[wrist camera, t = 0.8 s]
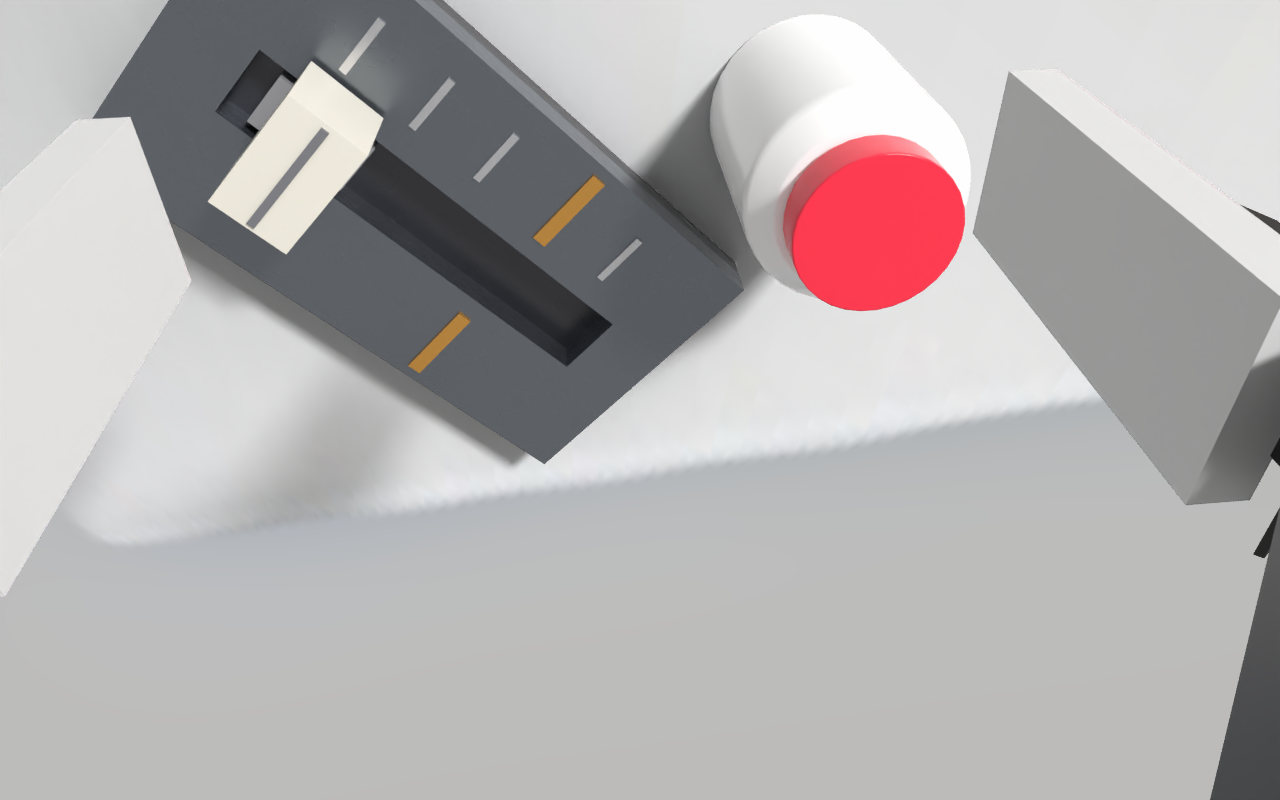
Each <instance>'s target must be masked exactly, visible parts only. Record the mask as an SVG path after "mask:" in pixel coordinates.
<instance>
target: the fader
mask: <svg viewBox="0 0 1280 800" xmlns="http://www.w3.org/2000/svg"><path fill="white" fill-rule="evenodd" d="M382 121H383V117H381V116H380V115H379V114H378V113H376V112H375V111H374V110H373V109H371V108H370V107H369V106H368V105H366V104H365V103H364V102H362V101H361V100H360V99H359V98H357V97H356V96H355V95H354V94H352V93H351V92H350V91H349V90H347V89H346V88H345V87H344V86H342V85H341V84H340V83H339V82H337V81H336V80H335V79H334V78H332V77H331V76H330V75H329V74H327V73H326V72H325V71H323V70H322V69H321V68H320V67H318V66H317V65H316V64H315V63H313V62H312V61H311V62H310V63H309V65H308V66H307V67H306V69H305V70H304V71H303V73H302V74H301V75H300V77H299V78H298V79H297V78H295V77H294V76H293V75H291V74H290V73H289V72H288V71H286V70H284V71H283V73H282V74H281V75H280V77H279V78H278V79H277V81H276V82H275V84H274V85H273V86H272V88H271V89H270V90H269V92H268V93H267V94H266V96H265V97H264V98H263V100H262V101H261V102H260V104H259V105H258V107H257V108H256V109H255V111H254V112H253V113H252V115H251V116H250V117H249V119H248V120H247V122H249V123H250V124H251V125H253V126H254V127H255V128H257V129H258V130H259V131H258V133H257V134H256V135H255V137H254V138H253V139H252V141H251V142H250V143H249V145H248V146H247V147H246V149H245V150H244V151H243V153H242V154H241V155H240V157H239V158H238V159H237V161H236V162H235V163H234V165H233V166H232V168H231V169H230V171H229V172H228V173H227V175H226V176H225V178H224V179H223V181H222V182H221V183H220V185H219V186H218V188H217V189H216V191H215V192H214V193H213V195H212V196H211V198H210V199H209V201H208V202H209V203H210V204H212V205H213V206H215V207H216V208H218V209H219V210H221V211H222V212H224V213H225V214H227V215H228V216H230V217H231V218H233V219H234V220H236V221H237V222H238V223H240V224H241V225H243V226H244V227H246V228H247V229H249V230H250V231H252V232H253V233H255V234H256V235H258V236H259V237H261V238H262V239H264V240H265V241H267V242H268V243H270V244H271V245H273V246H274V247H276V248H277V249H279V250H280V251H282V252H283V253H285V254H287V253H288V252H289V251H290V249H291V248H292V247H293V246H294V244H295V243H296V242H297V241H298V240H299V238H300V237H301V236H302V235H303V234H304V232H305V231H306V230H307V229H308V228H309V226H310V225H311V224H312V223H313V221H314V220H315V219H316V218H317V217H318V215H319V214H320V213H321V212H322V211H323V209H324V208H325V207H326V206H327V205H328V203H329V202H330V201H331V200H332V199H333V197H334V196H335V195H336V194H337V192H338V191H339V190H342V189H343V187H344V186H345V185H346V184H347V183H348V181H349V180H350V179H351V178H352V177H353V175H354V174H355V173H356V172H357V170H358V169H359V168H360V167H361V166H362V164H363V163H364V162H365V161H366V160H367V158H368V157H369V156H370V155H371V154H372V152H373V151H374V150H375V147H376V145H377V142H378V141H376V140H375V138H376V135H377V133H378V130H379V128H380V126H381V123H382Z"/></svg>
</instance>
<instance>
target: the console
mask: <svg viewBox="0 0 1280 800" xmlns="http://www.w3.org/2000/svg"><path fill="white" fill-rule="evenodd" d="M311 61H312V62H313V63H315V64H316V65H317V66H318V67H320V68H321V69H322V70H323V71H325V72H326V73H327V74H329V75H330V76H331V77H332V78H334V79H335V80H336V81H337V82H339V83H340V84H341V85H342V86H344V87H345V88H346V89H347V90H349V91H350V92H351V93H352V94H354V95H355V96H356V97H357V98H359V99H360V100H361V101H362V102H364V103H365V104H366V105H368V106H369V107H370V108H371V109H373V110H374V111H375V112H376V113H378V114H379V115H380V116H381V117H383V121H382V123H381V126H380V128H379V130H378V133H377V135H376V138H375V140H376V141H378V142H377V145H376V147H375V150H374V151H373V152H372V154H371V155H370V156H369V157H368V158H367V160H366V161H365V162H364V163H363V164H362V166H361V167H360V168H359V169H358V170H357V172H356V173H355V174H354V175H353V177H352V178H351V179H350V180H349V181H348V183H347V184H346V185H345V186H344V187H343V189H342V190H339V191H338V192H337V194H336V195H335V196H334V197H333V199H332V200H331V201H330V202H329V203H328V205H327V206H326V207H325V208H324V209H323V211H322V212H321V213H320V214H319V215H318V217H317V218H316V219H315V220H314V221H313V223H312V224H311V225H310V226H309V228H308V229H307V230H306V231H305V232H304V234H303V235H302V236H301V237H300V238H299V240H298V241H297V242H296V243H295V244H294V246H293V247H292V248H291V249H290V251H289V252H288V253H287V254H285V253H283V252H282V251H280V250H279V249H277V248H276V247H274V246H273V245H271V244H270V243H268V242H267V241H265V240H264V239H262V238H261V237H259V236H258V235H256V234H255V233H253V232H252V231H250V230H249V229H247V228H246V227H244V226H243V225H241V224H240V223H238V222H237V221H236V220H234V219H233V218H231V217H230V216H228V215H227V214H225V213H224V212H222V211H221V210H219V209H218V208H216V207H215V206H213V205H212V204H210V203H209V202H208V201H209V199H210V198H211V196H212V195H213V193H214V192H215V191H216V189H217V188H218V186H219V185H220V183H221V182H222V181H223V179H224V178H225V176H226V175H227V173H228V172H229V171H230V169H231V168H232V166H233V165H234V163H235V162H236V161H237V159H238V158H239V157H240V155H241V154H242V153H243V151H244V150H245V149H246V147H247V146H248V145H249V143H250V142H251V141H252V139H253V138H254V137H255V135H256V134H257V133H258V131H259V130H258V129H257V128H255V127H254V126H253V125H251V124H250V123H249V122H247V120H248V119H249V117H250V116H251V115H252V113H253V112H254V111H255V109H256V108H257V107H258V105H259V104H260V102H261V101H262V100H263V98H264V97H265V96H266V94H267V93H268V92H269V90H270V89H271V88H272V86H273V85H274V84H275V82H276V81H277V79H278V78H279V77H280V75H281V74H282V73H283V71H284V70H286V71H288V72H289V73H290V74H291V75H293V76H294V77H295V78H297V79H298V78H299V77H300V75H301V74H302V73H303V71H304V70H305V69H306V67H307V66H308V65H309V63H310V62H311ZM121 117H130V118H131V120H132V123H133V126H134V128H135V131H136V134H137V136H138V139H139V142H140V144H141V147H142V150H143V152H144V155H145V158H146V160H147V163H148V166H149V168H150V171H151V174H152V176H153V179H154V182H155V184H156V187H157V190H158V192H159V195H160V198H161V201H162V203H163V206H164V209H165V211H166V214H167V217H168V219H169V220H170V221H171V222H173V223H174V224H176V225H177V226H179V227H180V228H182V229H183V230H185V231H187V232H188V233H190V234H191V235H193V236H194V237H196V238H197V239H199V240H200V241H202V242H203V243H205V244H207V245H208V246H210V247H211V248H213V249H214V250H216V251H217V252H219V253H220V254H222V255H223V256H225V257H227V258H228V259H230V260H231V261H233V262H234V263H236V264H237V265H239V266H240V267H242V268H243V269H245V270H247V271H248V272H250V273H251V274H253V275H254V276H256V277H257V278H259V279H260V280H262V281H263V282H265V283H267V284H268V285H270V286H271V287H273V288H274V289H276V290H277V291H279V292H280V293H282V294H283V295H285V296H287V297H288V298H290V299H291V300H293V301H294V302H296V303H297V304H299V305H300V306H302V307H303V308H305V309H307V310H308V311H310V312H311V313H313V314H314V315H316V316H317V317H319V318H320V319H322V320H323V321H325V322H327V323H328V324H330V325H331V326H333V327H334V328H336V329H337V330H339V331H340V332H342V333H343V334H345V335H347V336H348V337H350V338H351V339H353V340H354V341H356V342H357V343H359V344H360V345H362V346H363V347H365V348H367V349H368V350H370V351H371V352H373V353H374V354H376V355H377V356H379V357H380V358H382V359H384V360H385V361H387V362H388V363H390V364H391V365H393V366H394V367H396V368H397V369H399V370H400V371H402V372H404V373H405V374H407V375H408V376H410V377H411V378H413V379H414V380H416V381H417V382H419V383H420V384H422V385H424V386H425V387H427V388H428V389H430V390H431V391H433V392H434V393H436V394H437V395H439V396H440V397H442V398H444V399H445V400H447V401H448V402H450V403H451V404H453V405H454V406H456V407H457V408H459V409H460V410H462V411H464V412H465V413H467V414H468V415H470V416H471V417H473V418H474V419H476V420H477V421H479V422H480V423H482V424H484V425H485V426H487V427H488V428H490V429H491V430H493V431H494V432H496V433H497V434H499V435H500V436H502V437H504V438H505V439H507V440H508V441H510V442H511V443H513V444H514V445H516V446H517V447H519V448H520V449H522V450H524V451H525V452H527V453H528V454H530V455H531V456H533V457H534V458H536V459H537V460H539V461H540V462H542V463H544V464H545V463H546V462H547V461H548V460H550V459H551V458H552V457H553V456H554V455H555V454H557V453H558V452H559V451H560V450H561V449H562V448H563V447H565V446H566V445H567V444H568V443H569V442H570V441H571V440H573V439H574V438H575V437H576V436H577V435H578V434H579V433H581V432H582V431H583V430H584V429H585V428H586V427H587V426H589V425H590V424H591V423H592V422H593V421H594V420H596V419H597V418H598V417H599V416H600V415H601V414H602V413H604V412H605V411H606V410H607V409H608V408H609V407H610V406H612V405H613V404H614V403H615V402H616V401H617V400H618V399H620V398H621V397H622V396H623V395H624V394H625V393H626V392H628V391H629V390H630V389H631V388H632V387H633V386H635V385H636V384H637V383H638V382H639V381H640V380H641V379H643V378H644V377H645V376H646V375H647V374H648V373H649V372H651V371H652V370H653V369H654V368H655V367H656V366H657V365H659V364H660V363H661V362H662V361H663V360H664V359H665V358H667V357H668V356H669V355H670V354H671V353H672V352H674V351H675V350H676V349H677V348H678V347H679V346H680V345H682V344H683V343H684V342H685V341H686V340H687V339H688V338H690V337H691V336H692V335H693V334H694V333H695V332H696V331H698V330H699V329H700V328H701V327H702V326H703V325H705V324H706V323H707V322H708V321H709V320H710V319H711V318H713V317H714V316H715V315H716V314H717V313H718V312H719V311H721V310H722V309H723V308H724V307H725V306H726V305H727V304H729V303H730V302H731V301H732V300H733V299H734V298H735V297H737V296H738V295H739V294H740V293H741V292H742V291H744V290H743V287H742V284H741V281H740V277H739V274H738V271H737V268H736V265H735V262H734V261H733V260H732V259H730V258H729V257H728V256H727V255H726V254H725V253H724V252H723V251H721V250H720V249H719V248H718V247H717V246H716V245H715V244H714V243H713V242H711V241H710V240H709V239H708V238H707V237H706V236H705V235H704V234H703V233H701V232H700V231H699V230H698V229H697V228H696V227H695V226H694V225H693V224H691V223H690V222H689V221H688V220H687V219H686V218H685V217H684V216H682V215H681V214H680V213H679V212H678V211H677V210H676V209H675V208H674V207H672V206H671V205H670V204H669V203H668V202H667V201H666V200H665V199H664V198H662V197H661V196H660V195H659V194H658V193H657V192H656V191H655V190H654V189H652V188H651V187H650V186H649V185H648V184H647V183H646V182H645V181H644V180H642V179H641V178H640V177H639V176H638V175H637V174H636V173H635V172H633V171H632V170H631V169H630V168H629V167H628V166H627V165H626V164H625V163H623V162H622V161H621V160H620V159H619V158H618V157H617V156H616V155H615V154H613V153H612V152H611V151H610V150H609V149H608V148H607V147H606V146H605V145H603V144H602V143H601V142H600V141H599V140H598V139H597V138H596V137H595V136H593V135H592V134H591V133H590V132H589V131H588V130H587V129H586V128H584V127H583V126H582V125H581V124H580V123H579V122H578V121H577V120H576V119H574V118H573V117H572V116H571V115H570V114H569V113H568V112H567V111H566V110H564V109H563V108H562V107H561V106H560V105H559V104H558V103H557V102H556V101H554V100H553V99H552V98H551V97H550V96H549V95H548V94H547V93H546V92H544V91H543V90H542V89H541V88H540V87H539V86H538V85H537V84H535V83H534V82H533V81H532V80H531V79H530V78H529V77H528V76H527V75H525V74H524V73H523V72H522V71H521V70H520V69H519V68H518V67H517V66H515V65H514V64H513V63H512V62H511V61H510V60H509V59H508V58H507V57H505V56H504V55H503V54H502V53H501V52H500V51H499V50H498V49H497V48H495V47H494V46H493V45H492V44H491V43H490V42H489V41H488V40H486V39H485V38H484V37H483V36H482V35H481V34H480V33H479V32H478V31H476V30H475V29H474V28H473V27H472V26H471V25H470V24H469V23H468V22H466V21H465V20H464V19H463V18H462V17H461V16H460V15H459V14H458V13H456V12H455V11H454V10H453V9H452V8H451V7H450V6H449V5H447V4H446V3H445V2H444V1H443V0H169V1H168V3H167V4H166V6H165V7H164V9H163V10H162V12H161V13H160V15H159V17H158V18H157V20H156V21H155V23H154V24H153V26H152V27H151V29H150V30H149V32H148V34H147V35H146V37H145V38H144V40H143V41H142V43H141V44H140V46H139V47H138V49H137V51H136V52H135V54H134V55H133V57H132V58H131V60H130V61H129V63H128V64H127V66H126V68H125V69H124V71H123V72H122V74H121V75H120V77H119V78H118V80H117V81H116V83H115V85H114V86H113V88H112V89H111V91H110V92H109V94H108V95H107V97H106V99H105V100H104V102H103V103H102V105H101V106H100V108H99V109H98V111H97V112H96V114H95V116H94V117H93V119H102V118H121Z"/></svg>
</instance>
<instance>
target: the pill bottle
mask: <svg viewBox="0 0 1280 800" xmlns="http://www.w3.org/2000/svg"><path fill="white" fill-rule="evenodd" d="M710 133H711V138H712V142H713V147H714V150H715V153H716V156H717V158H718V161H719V164H720V167H721V170H722V172H723V175H724V178H725V181H726V184H727V186H728V189H729V192H730V195H731V198H732V200H733V203H734V206H735V209H736V211H737V214H738V217H739V220H740V223H741V225H742V228H743V231H744V234H745V236H746V238H747V241H748V243H749V245H750V248H751V250H752V252H753V254H754V256H755V257H756V259H757V260H758V261H759V263H760V264H761V265H762V267H763V268H764V269H765V270H766V271H767V272H768V273H769V274H770V275H771V276H773V277H774V278H775V279H776V280H777V281H778V282H780V283H781V284H783V285H785V286H786V287H788V288H790V289H792V290H794V291H796V292H798V293H801V294H805V295H808V296H811V297H815V298H818V299H820V300H822V301H824V302H826V303H828V304H830V305H832V306H835V307H838V308H842V309H845V310H855V311H869V310H878V309H883V308H887V307H891V306H894V305H897V304H899V303H901V302H904V301H906V300H909V299H910V298H912V297H914V296H915V295H917V294H919V293H920V292H922V291H923V290H925V289H926V288H927V287H928V286H929V285H931V284H932V283H933V282H934V281H935V280H936V279H937V278H938V277H939V276H940V275H941V274H942V273H943V271H944V270H945V269H946V268H947V267H948V265H949V264H950V262H951V260H952V259H953V257H954V256H955V254H956V252H957V250H958V247H959V245H960V242H961V240H962V236H963V231H964V225H965V207H966V204H967V199H968V194H969V189H970V160H969V156H968V152H967V148H966V144H965V140H964V138H963V136H962V135H961V133H960V131H959V129H958V127H957V125H956V123H955V122H954V121H953V119H952V118H951V117H950V116H949V115H948V114H947V113H946V112H945V110H944V109H943V108H942V107H941V106H940V105H939V104H938V103H937V102H936V101H935V100H934V99H933V98H932V97H931V96H930V95H929V93H928V92H927V91H926V90H925V89H924V88H923V87H922V86H921V85H920V84H919V83H918V82H917V81H916V80H915V79H914V78H913V77H912V76H911V75H910V74H909V73H908V72H907V71H906V70H905V68H904V67H903V66H902V65H901V64H900V63H899V62H898V61H897V60H896V59H895V58H894V57H893V56H892V55H891V54H890V53H889V52H888V51H887V50H886V49H885V48H884V47H883V46H882V45H881V44H880V42H879V41H878V40H877V39H876V38H875V37H874V36H873V35H872V34H870V33H869V32H868V31H866V30H865V29H863V28H862V27H860V26H859V25H857V24H856V23H853V22H851V21H848V20H846V19H843V18H840V17H836V16H830V15H823V14H813V15H800V16H796V17H792V18H789V19H785V20H781V21H779V22H777V23H775V24H773V25H771V26H769V27H767V28H765V29H763V30H761V31H760V32H759V33H757V34H756V35H755V36H753V37H752V38H751V39H749V40H748V41H747V42H745V44H744V45H743V46H742V47H741V48H740V49H739V50H738V51H737V52H736V53H735V54H734V55H733V56H732V58H731V59H730V61H729V62H728V64H727V66H726V67H725V69H724V70H723V72H722V73H721V75H720V78H719V80H718V83H717V85H716V88H715V90H714V93H713V98H712V103H711V108H710Z"/></svg>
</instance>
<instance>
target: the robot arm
mask: <svg viewBox="0 0 1280 800" xmlns="http://www.w3.org/2000/svg"><path fill="white" fill-rule="evenodd" d="M973 234H974V235H975V237H976V238H977V239H978V240H979V242H980V243H981V244H982V246H983V247H984V248H985V249H986V251H987V252H988V253H989V255H990V256H991V257H992V258H993V260H994V261H995V262H996V263H997V265H998V266H999V267H1000V269H1001V270H1002V271H1003V272H1004V274H1005V275H1006V276H1007V278H1008V279H1009V280H1010V281H1011V283H1012V284H1013V285H1014V286H1015V288H1016V289H1017V290H1018V292H1019V293H1020V294H1021V295H1022V297H1023V298H1024V299H1025V301H1026V302H1027V303H1028V304H1029V306H1030V307H1031V308H1032V309H1033V311H1034V312H1035V313H1036V315H1037V316H1038V317H1039V318H1040V320H1041V321H1042V322H1043V324H1044V325H1045V326H1046V327H1047V329H1048V330H1049V331H1050V332H1051V334H1052V335H1053V336H1054V338H1055V339H1056V340H1057V341H1058V343H1059V344H1060V345H1061V347H1062V348H1063V349H1064V350H1065V352H1066V353H1067V354H1068V355H1069V357H1070V358H1071V359H1072V361H1073V362H1074V363H1075V364H1076V366H1077V367H1078V368H1079V370H1080V371H1081V372H1082V373H1083V375H1084V376H1085V377H1086V378H1087V380H1088V381H1089V382H1090V384H1091V385H1092V386H1093V387H1094V389H1095V390H1096V391H1097V393H1098V394H1099V395H1100V396H1101V398H1102V399H1103V400H1104V401H1105V403H1106V404H1107V405H1108V407H1109V408H1110V409H1111V410H1112V412H1113V413H1114V414H1115V416H1116V417H1117V418H1118V419H1119V421H1120V422H1121V423H1122V424H1123V426H1124V427H1125V428H1126V430H1127V431H1128V432H1129V433H1130V435H1131V436H1132V437H1133V439H1134V440H1135V441H1136V442H1137V444H1138V445H1139V446H1140V447H1141V448H1142V450H1143V451H1144V453H1145V454H1146V455H1147V456H1148V458H1149V459H1150V460H1151V462H1152V463H1153V464H1154V465H1155V467H1156V468H1157V469H1158V470H1159V472H1160V473H1161V474H1162V476H1163V477H1164V478H1165V479H1166V481H1167V482H1168V483H1169V485H1170V486H1171V487H1172V488H1173V489H1174V491H1175V492H1176V493H1177V495H1178V496H1179V497H1180V499H1181V500H1182V501H1183V502H1184V504H1185V505H1193V504H1205V503H1218V502H1231V501H1243V500H1250V499H1251V497H1252V495H1253V493H1254V491H1255V489H1256V488H1257V486H1258V484H1259V482H1260V480H1261V478H1262V476H1263V475H1264V472H1265V471H1266V469H1267V467H1268V465H1269V463H1270V461H1271V460H1272V459H1273V460H1274V461H1275V462H1276V463H1277V464H1278V465H1279V466H1280V223H1279V222H1278V221H1277V220H1274V219H1272V218H1270V217H1267V216H1265V215H1263V214H1260V213H1258V212H1256V211H1253V210H1251V209H1249V208H1246V207H1244V206H1242V205H1240V204H1238V203H1237V202H1235V201H1234V200H1233V199H1231V198H1230V197H1229V196H1227V195H1226V194H1225V193H1223V192H1222V191H1221V190H1219V189H1218V188H1217V187H1215V186H1214V185H1213V184H1211V183H1210V182H1209V181H1207V180H1206V179H1205V178H1203V177H1202V176H1201V175H1199V174H1198V173H1197V172H1195V171H1194V170H1193V169H1191V168H1190V167H1189V166H1187V165H1186V164H1185V163H1183V162H1182V161H1181V160H1179V159H1178V158H1177V157H1175V156H1174V155H1173V154H1171V153H1170V152H1169V151H1167V150H1166V149H1165V148H1163V147H1162V146H1161V145H1159V144H1158V143H1156V142H1155V141H1154V140H1152V139H1151V138H1150V137H1148V136H1147V135H1146V134H1144V133H1143V132H1142V131H1140V130H1139V129H1138V128H1136V127H1135V126H1134V125H1132V124H1131V123H1130V122H1128V121H1127V120H1126V119H1124V118H1123V117H1122V116H1120V115H1119V114H1118V113H1116V112H1115V111H1114V110H1112V109H1111V108H1110V107H1108V106H1107V105H1106V104H1104V103H1103V102H1102V101H1100V100H1099V99H1098V98H1096V97H1095V96H1094V95H1092V94H1091V93H1090V92H1088V91H1087V90H1086V89H1084V88H1083V87H1082V86H1080V85H1079V84H1077V83H1076V82H1075V81H1073V80H1072V79H1071V78H1069V77H1068V76H1067V75H1065V74H1064V73H1063V72H1061V71H1060V70H1059V69H1041V70H1021V71H1009V73H1008V77H1007V82H1006V86H1005V91H1004V95H1003V100H1002V104H1001V109H1000V113H999V118H998V122H997V127H996V131H995V136H994V140H993V145H992V149H991V154H990V158H989V162H988V167H987V171H986V176H985V180H984V185H983V189H982V194H981V198H980V203H979V207H978V212H977V216H976V221H975V225H974V230H973ZM190 283H191V278H190V275H189V273H188V270H187V267H186V265H185V262H184V259H183V257H182V254H181V251H180V249H179V246H178V243H177V241H176V238H175V235H174V233H173V230H172V227H171V225H170V222H169V219H168V217H167V214H166V211H165V209H164V206H163V203H162V201H161V198H160V195H159V192H158V190H157V187H156V184H155V182H154V179H153V176H152V174H151V171H150V168H149V166H148V163H147V160H146V158H145V155H144V152H143V150H142V147H141V144H140V142H139V139H138V136H137V134H136V131H135V128H134V126H133V123H132V120H131V118H130V117H121V118H102V119H83V120H76V121H74V122H73V123H72V124H71V125H70V126H69V127H68V128H67V129H66V130H65V131H64V132H63V133H62V134H61V135H59V136H58V137H57V138H56V139H55V140H54V141H53V142H52V143H51V144H50V145H49V146H48V147H47V148H45V149H44V150H43V151H42V152H41V153H40V154H39V155H38V156H37V157H36V158H35V159H34V160H33V161H32V162H30V163H29V164H28V165H27V166H26V167H25V168H24V169H23V170H22V171H21V172H20V173H19V174H18V175H16V176H15V177H14V178H13V179H12V180H11V181H10V182H9V183H8V184H7V185H6V186H5V187H4V188H2V189H1V190H0V597H5V596H6V595H7V593H8V591H9V589H10V588H11V586H12V584H13V583H14V581H15V579H16V578H17V576H18V574H19V573H20V571H21V569H22V567H23V566H24V564H25V562H26V561H27V559H28V557H29V555H30V554H31V552H32V551H33V549H34V547H35V545H36V544H37V542H38V540H39V539H40V537H41V535H42V534H43V532H44V530H45V528H46V527H47V525H48V523H49V522H50V520H51V518H52V517H53V515H54V513H55V511H56V510H57V508H58V506H59V505H60V503H61V501H62V500H63V498H64V496H65V495H66V493H67V491H68V490H69V488H70V486H71V484H72V483H73V481H74V479H75V478H76V476H77V474H78V473H79V471H80V469H81V468H82V466H83V464H84V462H85V461H86V459H87V457H88V456H89V454H90V452H91V451H92V449H93V447H94V446H95V444H96V442H97V440H98V439H99V437H100V435H101V434H102V432H103V430H104V429H105V427H106V425H107V423H108V422H109V420H110V418H111V417H112V415H113V413H114V412H115V410H116V408H117V407H118V405H119V403H120V401H121V400H122V398H123V396H124V395H125V393H126V391H127V390H128V388H129V386H130V385H131V383H132V381H133V379H134V378H135V376H136V374H137V373H138V371H139V369H140V368H141V366H142V364H143V363H144V361H145V359H146V357H147V356H148V354H149V352H150V351H151V349H152V347H153V346H154V344H155V342H156V340H157V339H158V337H159V335H160V334H161V332H162V330H163V329H164V327H165V325H166V324H167V322H168V320H169V318H170V317H171V315H172V313H173V312H174V310H175V308H176V307H177V305H178V303H179V302H180V300H181V298H182V296H183V295H184V293H185V291H186V290H187V288H188V286H189V285H190ZM1268 553H1269V555H1268V559H1267V564H1266V568H1265V572H1264V576H1263V580H1262V585H1261V589H1260V593H1259V598H1258V601H1257V606H1256V610H1255V614H1254V618H1253V622H1252V627H1251V631H1250V635H1249V640H1248V644H1247V648H1246V652H1245V656H1244V660H1243V664H1242V669H1241V673H1240V677H1239V681H1238V685H1237V690H1236V694H1235V698H1234V702H1233V706H1232V711H1231V715H1230V719H1229V723H1228V727H1227V732H1226V736H1225V740H1224V744H1223V748H1222V752H1221V757H1220V761H1219V766H1218V770H1217V773H1216V778H1215V782H1214V786H1213V790H1212V795H1211V799H1210V800H1280V508H1279V510H1278V512H1277V513H1276V515H1275V517H1274V519H1273V521H1272V522H1271V524H1270V526H1269V528H1268V529H1267V531H1266V533H1265V535H1264V536H1263V538H1262V540H1261V542H1260V543H1259V545H1258V547H1257V549H1256V550H1255V552H1254V555H1256V556H1259V557H1262V558H1265V557H1266V555H1267V554H1268Z"/></svg>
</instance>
